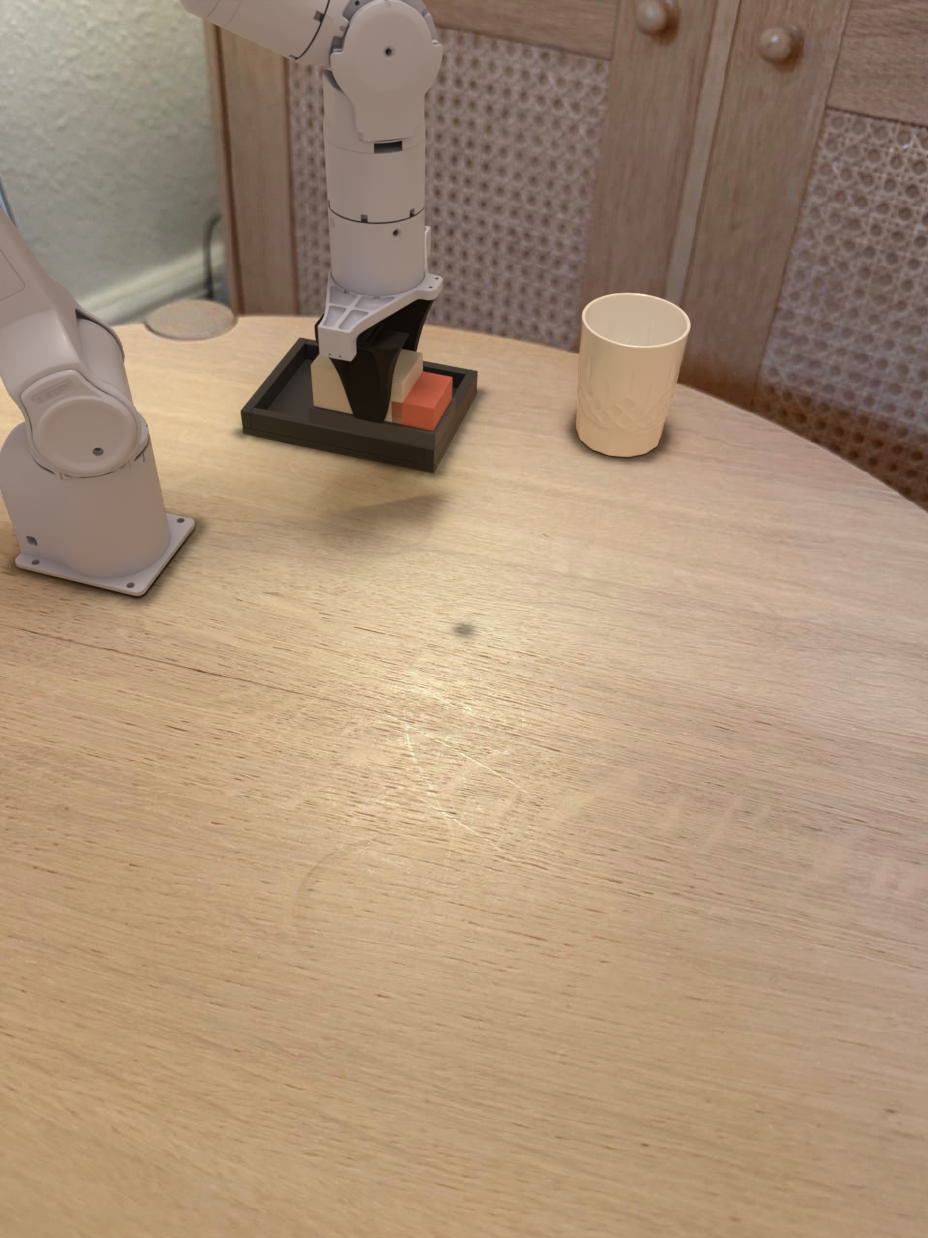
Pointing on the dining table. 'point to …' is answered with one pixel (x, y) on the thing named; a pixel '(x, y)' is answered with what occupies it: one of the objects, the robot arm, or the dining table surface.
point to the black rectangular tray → (286, 419)
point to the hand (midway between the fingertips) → (381, 400)
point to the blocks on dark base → (413, 406)
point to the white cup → (628, 371)
